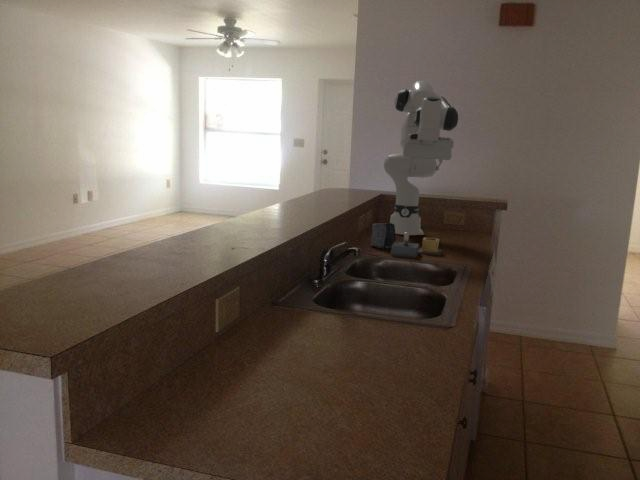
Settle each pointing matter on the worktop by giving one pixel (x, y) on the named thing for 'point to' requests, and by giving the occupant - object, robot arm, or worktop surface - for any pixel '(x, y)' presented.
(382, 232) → the stone
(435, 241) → the ring
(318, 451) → the worktop surface
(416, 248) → the post block
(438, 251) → the mat
